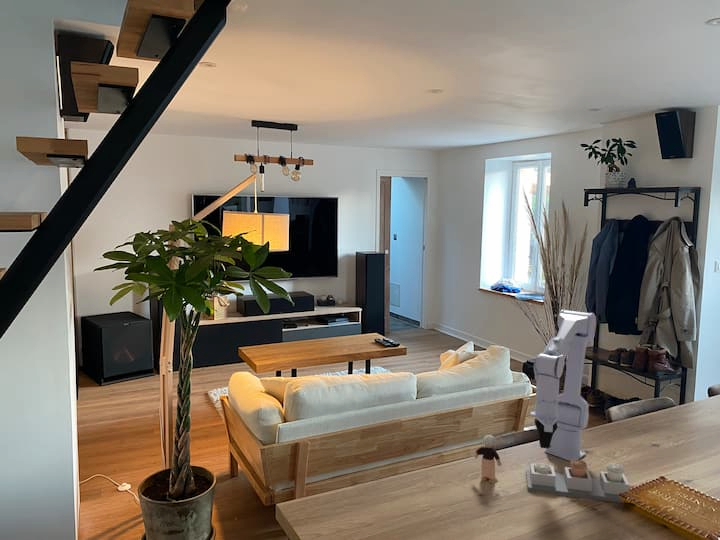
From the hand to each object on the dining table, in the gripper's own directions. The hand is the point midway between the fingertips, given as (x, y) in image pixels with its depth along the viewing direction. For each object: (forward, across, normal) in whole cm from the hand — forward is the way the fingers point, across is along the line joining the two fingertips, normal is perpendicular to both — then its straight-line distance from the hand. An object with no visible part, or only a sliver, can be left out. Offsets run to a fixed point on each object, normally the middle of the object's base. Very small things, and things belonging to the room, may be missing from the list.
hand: (544, 447), depth 146 cm
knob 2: (+7, 0, +18) cm, 19 cm away
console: (+10, 0, +9) cm, 14 cm away
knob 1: (+9, 0, 0) cm, 9 cm away
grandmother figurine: (+11, +1, -15) cm, 18 cm away
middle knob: (+7, 0, +9) cm, 11 cm away
